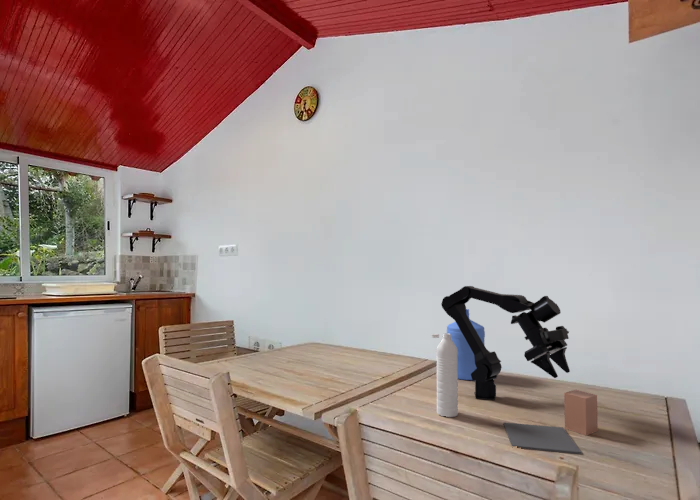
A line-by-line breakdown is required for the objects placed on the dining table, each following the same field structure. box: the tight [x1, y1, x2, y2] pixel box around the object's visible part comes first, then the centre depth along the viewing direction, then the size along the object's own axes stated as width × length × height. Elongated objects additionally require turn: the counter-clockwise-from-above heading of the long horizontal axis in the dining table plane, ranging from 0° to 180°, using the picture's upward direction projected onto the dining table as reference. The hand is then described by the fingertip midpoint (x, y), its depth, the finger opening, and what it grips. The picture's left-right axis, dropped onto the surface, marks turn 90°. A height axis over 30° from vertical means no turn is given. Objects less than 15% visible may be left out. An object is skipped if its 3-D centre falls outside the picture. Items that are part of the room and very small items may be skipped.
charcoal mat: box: [503, 421, 582, 455], centre depth 110 cm, size 16×16×1 cm
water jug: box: [446, 308, 486, 381], centre depth 174 cm, size 16×16×28 cm
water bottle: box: [430, 332, 459, 418], centre depth 128 cm, size 9×6×25 cm
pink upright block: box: [563, 389, 599, 436], centre depth 116 cm, size 6×6×10 cm
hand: (562, 374), depth 125 cm, fingers open, 9 cm apart
